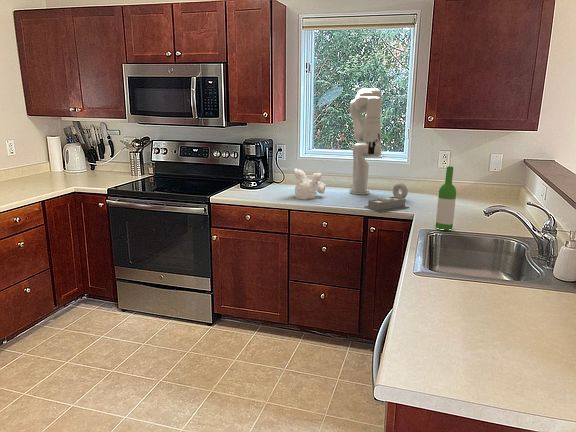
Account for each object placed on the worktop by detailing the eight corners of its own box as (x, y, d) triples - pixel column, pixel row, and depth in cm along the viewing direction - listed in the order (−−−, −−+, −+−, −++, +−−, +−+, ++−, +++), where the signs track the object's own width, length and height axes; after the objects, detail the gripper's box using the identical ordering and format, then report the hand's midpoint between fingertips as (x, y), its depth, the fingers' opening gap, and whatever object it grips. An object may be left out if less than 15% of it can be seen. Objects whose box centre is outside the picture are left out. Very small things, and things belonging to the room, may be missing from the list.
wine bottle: (433, 226, 234) (439, 165, 227) (450, 227, 234) (457, 165, 226) (436, 231, 227) (443, 167, 219) (453, 232, 226) (460, 168, 218)
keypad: (364, 207, 270) (364, 199, 269) (391, 202, 281) (391, 195, 280) (381, 212, 259) (382, 204, 258) (408, 208, 270) (409, 200, 268)
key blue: (381, 203, 270) (381, 198, 269) (386, 202, 272) (387, 197, 272) (386, 205, 266) (387, 199, 266) (392, 204, 269) (393, 198, 268)
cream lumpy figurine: (287, 185, 281) (296, 163, 293) (290, 209, 295) (298, 186, 308) (319, 189, 276) (326, 166, 289) (320, 213, 291) (327, 190, 303)
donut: (408, 200, 287) (409, 184, 285) (404, 201, 285) (406, 184, 283) (394, 197, 295) (395, 181, 292) (390, 198, 292) (392, 182, 290)
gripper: (358, 119, 268) (357, 152, 273) (377, 121, 256) (375, 156, 261) (369, 119, 272) (367, 151, 277) (387, 121, 260) (385, 155, 265)
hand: (371, 153), depth 269 cm, fingers closed
